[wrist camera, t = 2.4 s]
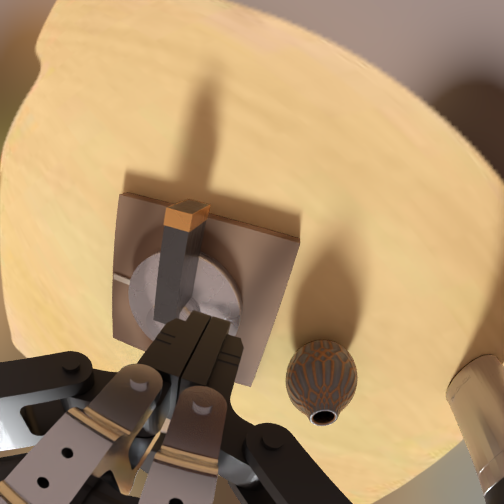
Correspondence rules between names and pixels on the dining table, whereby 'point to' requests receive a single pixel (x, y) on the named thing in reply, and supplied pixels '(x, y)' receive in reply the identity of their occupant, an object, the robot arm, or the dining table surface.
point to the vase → (321, 380)
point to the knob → (183, 276)
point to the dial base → (221, 249)
